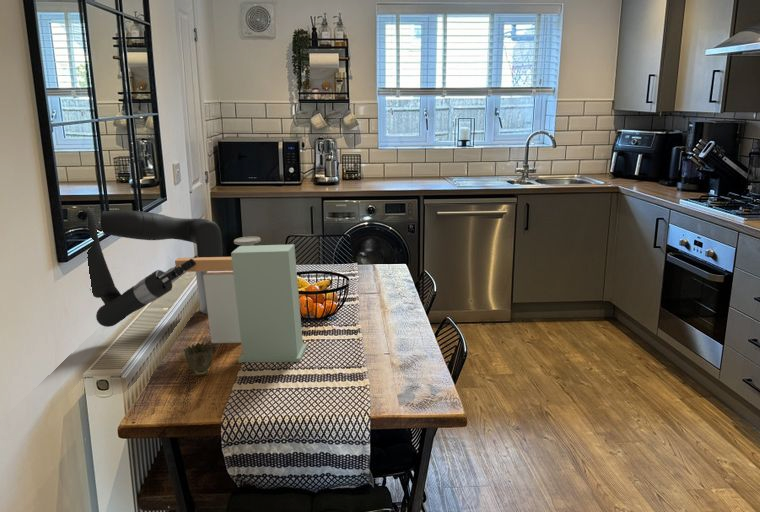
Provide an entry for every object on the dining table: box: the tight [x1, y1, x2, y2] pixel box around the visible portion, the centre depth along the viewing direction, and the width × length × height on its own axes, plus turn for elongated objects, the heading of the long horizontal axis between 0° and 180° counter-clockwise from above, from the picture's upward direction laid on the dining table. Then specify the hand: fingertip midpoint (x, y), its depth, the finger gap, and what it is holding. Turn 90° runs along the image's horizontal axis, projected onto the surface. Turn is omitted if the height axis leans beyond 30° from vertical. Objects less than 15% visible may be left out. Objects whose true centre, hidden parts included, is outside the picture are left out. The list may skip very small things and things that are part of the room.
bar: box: [174, 256, 233, 273], centre depth 188 cm, size 4×26×4 cm, turn 86°
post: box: [203, 271, 241, 344], centre depth 191 cm, size 5×10×22 cm, turn 86°
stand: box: [230, 243, 308, 364], centre depth 177 cm, size 11×18×32 cm, turn 86°
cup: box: [183, 342, 213, 377], centre depth 169 cm, size 8×7×8 cm
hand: (196, 259), depth 188 cm, fingers closed on bar, 3 cm apart
